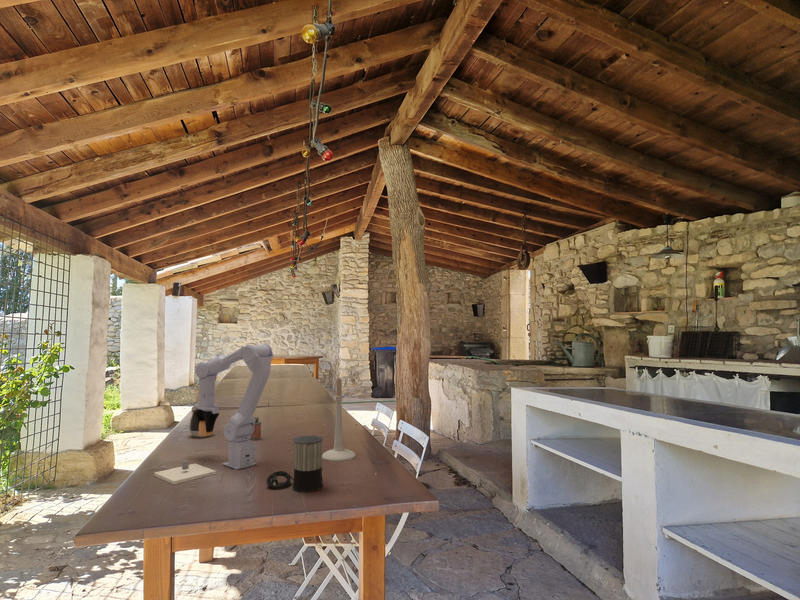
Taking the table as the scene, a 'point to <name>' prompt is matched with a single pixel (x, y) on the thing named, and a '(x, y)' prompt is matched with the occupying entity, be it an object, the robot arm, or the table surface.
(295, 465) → the milk frother
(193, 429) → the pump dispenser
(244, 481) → the table surface
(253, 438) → the lighter
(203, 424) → the cap
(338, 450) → the candlestick
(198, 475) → the post board
